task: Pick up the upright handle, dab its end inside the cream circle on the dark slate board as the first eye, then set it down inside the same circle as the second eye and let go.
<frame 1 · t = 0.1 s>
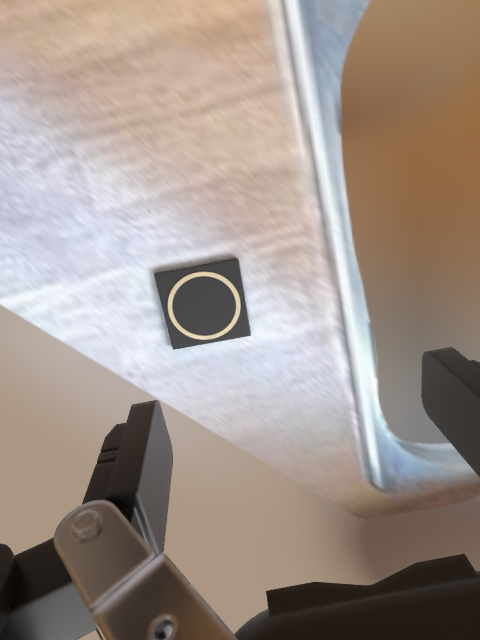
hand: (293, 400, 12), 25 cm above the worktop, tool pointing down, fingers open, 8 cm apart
slate board: (204, 304, 37), on the worktop
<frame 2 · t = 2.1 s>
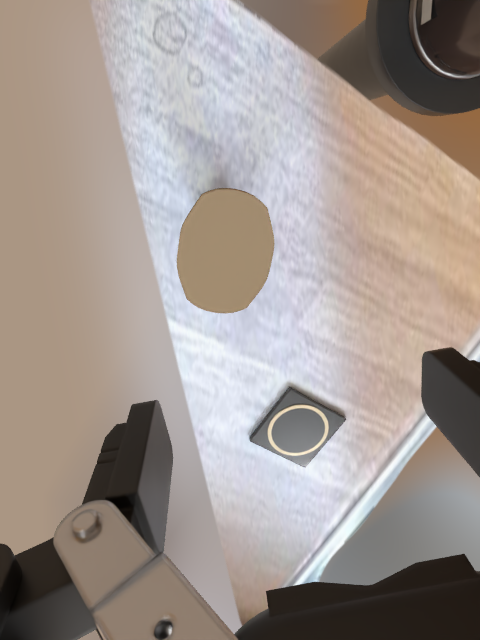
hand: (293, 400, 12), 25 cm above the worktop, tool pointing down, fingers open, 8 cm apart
handle: (216, 213, 35), on the worktop
slate board: (297, 427, 44), on the worktop
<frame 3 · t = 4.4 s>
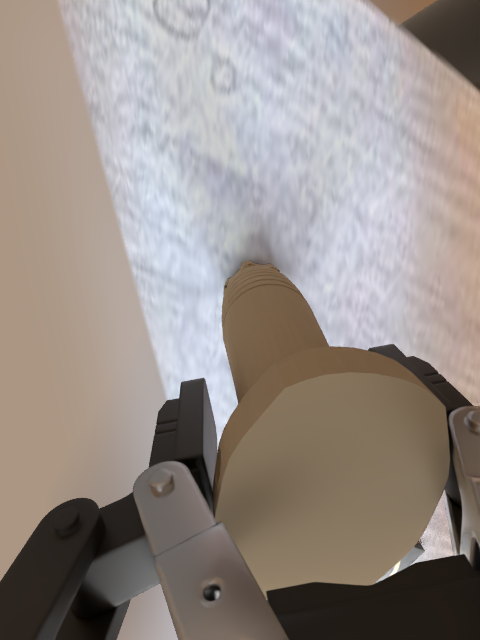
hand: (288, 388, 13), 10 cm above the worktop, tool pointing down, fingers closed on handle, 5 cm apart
handle: (253, 285, 23), on the worktop, touching gripper
slate board: (355, 560, 32), on the worktop
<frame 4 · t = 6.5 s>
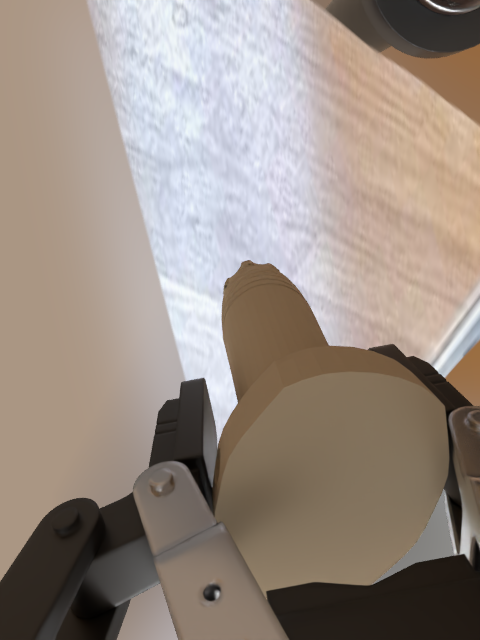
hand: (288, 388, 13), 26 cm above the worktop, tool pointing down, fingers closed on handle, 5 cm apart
handle: (252, 285, 23), point 15 cm above the worktop, touching gripper
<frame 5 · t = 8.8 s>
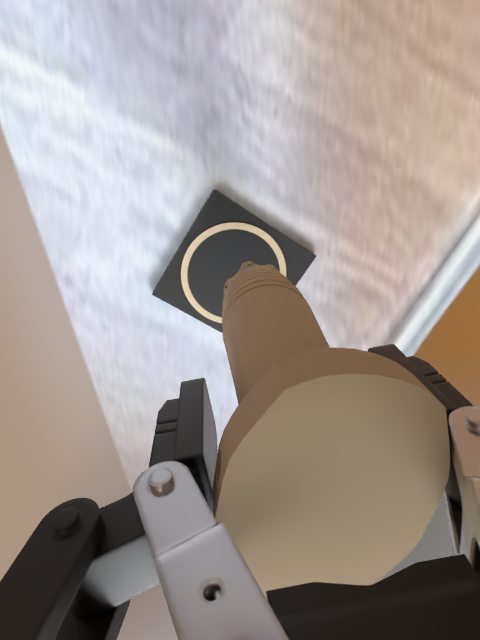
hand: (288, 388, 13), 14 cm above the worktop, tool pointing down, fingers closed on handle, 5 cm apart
handle: (253, 286, 23), point 4 cm above the worktop, touching gripper
slate board: (233, 273, 26), on the worktop
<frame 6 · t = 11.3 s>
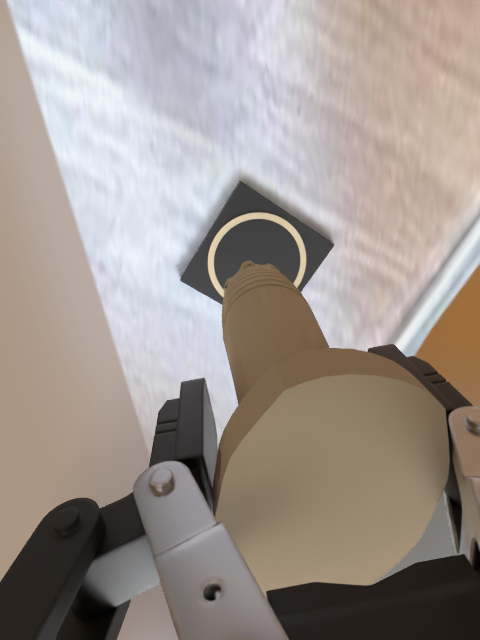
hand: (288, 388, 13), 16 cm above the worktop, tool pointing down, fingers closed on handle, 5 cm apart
handle: (253, 285, 23), point 5 cm above the worktop, touching gripper
slate board: (256, 261, 28), on the worktop
when the fingers open (11 cm above the worktop, at t = 13.1 s): handle stays where it is, resting on slate board.
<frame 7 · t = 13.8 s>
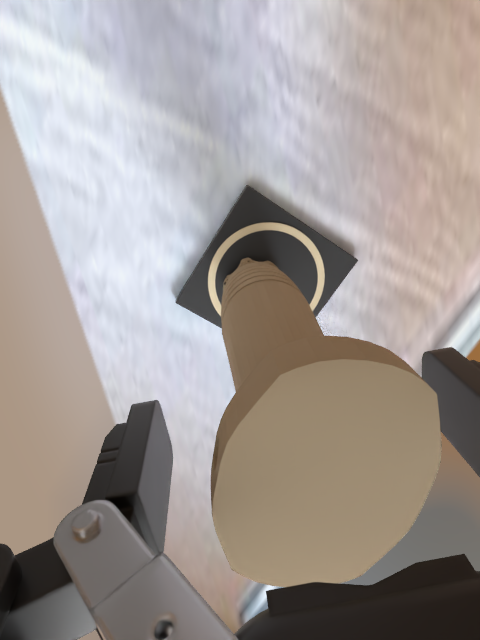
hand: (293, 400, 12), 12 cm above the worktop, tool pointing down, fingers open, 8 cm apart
handle: (252, 282, 23), resting on slate board
slate board: (265, 279, 23), on the worktop
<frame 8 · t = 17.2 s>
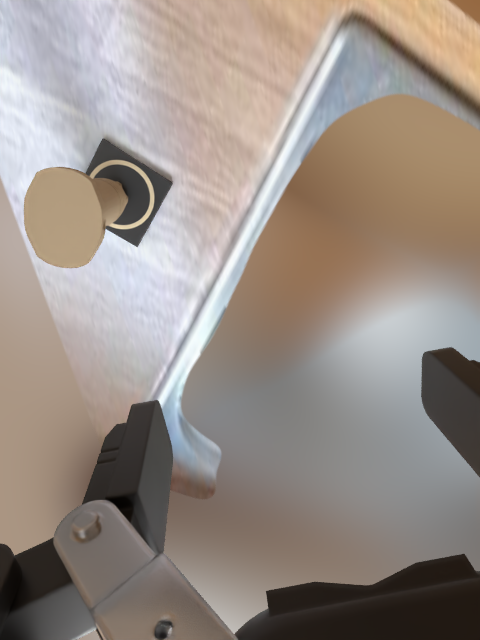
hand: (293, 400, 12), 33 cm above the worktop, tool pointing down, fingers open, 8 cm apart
handle: (112, 196, 40), resting on slate board
slate board: (121, 195, 41), on the worktop
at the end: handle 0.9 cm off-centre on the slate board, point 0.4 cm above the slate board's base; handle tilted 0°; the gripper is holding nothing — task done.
